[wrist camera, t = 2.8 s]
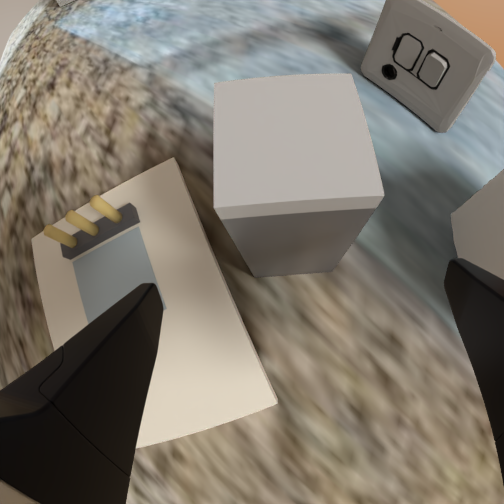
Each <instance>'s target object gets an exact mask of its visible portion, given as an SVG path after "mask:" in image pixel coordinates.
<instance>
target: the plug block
mask: <svg viewBox="0 0 504 504" xmlns="http://www.w3.org/2000/svg"><path fill="white" fill-rule="evenodd" d="M213 162H214V209H215V211H216V213H217V214H218V216H219V218H220V219H221V221H222V223H223V225H224V226H225V228H226V230H227V231H228V233H229V235H230V237H231V238H232V240H233V242H234V243H235V245H236V247H237V248H238V250H239V252H240V254H241V255H242V257H243V259H244V260H245V262H246V264H247V265H248V267H249V269H250V270H251V272H252V274H253V276H254V277H269V276H283V275H296V274H308V273H321V272H332V271H333V270H334V268H335V267H336V266H337V264H338V263H339V261H340V260H341V259H342V257H343V256H344V254H345V253H346V252H347V250H348V249H349V247H350V246H351V244H352V243H353V242H354V240H355V239H356V237H357V236H358V234H359V233H360V232H361V230H362V229H363V227H364V226H365V224H366V223H367V221H368V220H369V218H370V217H371V215H372V214H373V212H374V211H375V209H376V208H377V206H378V205H379V203H380V202H381V200H382V199H383V197H384V196H385V195H384V190H383V186H382V181H381V177H380V172H379V168H378V164H377V160H376V156H375V152H374V148H373V144H372V140H371V137H370V133H369V129H368V126H367V122H366V119H365V115H364V112H363V109H362V105H361V102H360V99H359V96H358V93H357V90H356V87H355V84H354V81H353V78H352V75H351V74H303V75H285V76H271V77H260V78H250V79H241V80H233V81H225V82H218V83H214V160H213Z"/></svg>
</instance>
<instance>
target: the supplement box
mask: <svg viewBox="0 0 504 504" xmlns="http://www.w3.org/2000/svg"><path fill="white" fill-rule="evenodd" d="M56 1H57V3H58V4H59V6H60V7H62V6H64V5H66V4H68V3H71V2H73V1H75V0H56Z"/></svg>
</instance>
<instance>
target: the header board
mask: <svg viewBox="0 0 504 504" xmlns="http://www.w3.org/2000/svg"><path fill="white" fill-rule="evenodd" d="M31 241H32V248H33V255H34V262H35V268H36V274H37V279H38V285H39V290H40V295H41V299H42V304H43V308H44V313H45V317H46V321H47V325H48V329H49V333H50V337H51V340H52V344H53V347H54V351H55V350H56V349H58V348H59V347H60V346H61V345H63V344H64V343H65V342H67V341H68V340H69V339H70V338H72V337H73V336H74V335H75V334H77V333H78V332H79V331H80V330H82V329H83V328H84V327H85V326H87V325H88V324H89V323H91V322H92V321H93V320H94V319H96V318H97V317H98V316H100V315H101V314H102V313H103V312H105V311H106V310H107V309H109V308H110V307H111V306H113V305H114V304H115V303H116V302H118V301H119V300H120V299H122V298H123V297H124V296H126V295H127V294H128V293H130V292H131V291H132V290H134V289H135V288H136V287H138V286H139V285H140V284H142V283H155V284H156V286H157V288H158V291H159V294H160V297H161V300H162V303H163V308H164V310H163V318H162V324H161V332H160V339H159V346H158V352H157V357H156V361H155V365H154V369H153V373H152V377H151V382H150V386H149V390H148V394H147V399H146V403H145V407H144V412H143V416H142V421H141V425H140V430H139V435H138V440H137V444H136V448H140V447H144V446H149V445H153V444H157V443H161V442H164V441H168V440H172V439H175V438H179V437H182V436H186V435H189V434H193V433H196V432H199V431H202V430H206V429H209V428H212V427H215V426H218V425H221V424H224V423H227V422H230V421H233V420H236V419H238V418H241V417H244V416H247V415H249V414H252V413H255V412H257V411H260V410H263V409H265V408H268V407H270V406H273V405H275V404H277V402H278V399H277V396H276V394H275V392H274V390H273V388H272V386H271V383H270V381H269V379H268V377H267V375H266V372H265V370H264V368H263V366H262V364H261V361H260V359H259V357H258V355H257V353H256V350H255V348H254V346H253V344H252V341H251V339H250V337H249V334H248V332H247V330H246V328H245V325H244V323H243V321H242V319H241V316H240V314H239V312H238V309H237V307H236V305H235V302H234V300H233V298H232V295H231V293H230V291H229V288H228V286H227V284H226V281H225V279H224V276H223V274H222V272H221V269H220V267H219V265H218V262H217V260H216V257H215V255H214V253H213V250H212V248H211V245H210V243H209V240H208V238H207V236H206V233H205V231H204V228H203V226H202V223H201V221H200V218H199V216H198V213H197V211H196V208H195V206H194V203H193V201H192V198H191V196H190V193H189V191H188V188H187V186H186V183H185V180H184V178H183V175H182V173H181V170H180V168H179V165H178V163H177V162H176V160H175V159H174V157H173V158H171V159H169V160H167V161H165V162H162V163H160V164H158V165H157V166H155V167H153V168H151V169H149V170H147V171H145V172H143V173H141V174H139V175H137V176H135V177H133V178H131V179H130V180H128V181H126V182H124V183H122V184H120V185H119V186H117V187H115V188H113V189H111V190H110V191H108V192H106V193H104V194H102V195H101V196H98V195H95V196H93V197H92V198H91V200H90V202H89V203H87V204H85V205H84V206H82V207H80V208H79V209H77V210H75V211H73V210H70V211H68V212H67V214H66V216H65V217H64V218H62V219H61V220H59V221H58V222H56V223H55V224H53V225H50V224H48V225H46V226H45V228H44V231H42V232H41V233H39V234H38V235H36V236H35V237H33V238H32V239H31Z"/></svg>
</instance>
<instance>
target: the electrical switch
mask: <svg viewBox="0 0 504 504" xmlns="http://www.w3.org/2000/svg"><path fill="white" fill-rule="evenodd" d="M495 60H496V53H495V51H494V50H493V49H492V48H491V47H490V46H489V45H488V44H487V43H485V42H484V41H483V40H481V39H480V38H479V37H477V36H476V35H475V34H473V33H472V32H471V31H469V30H468V29H466V28H465V27H463V26H462V25H461V24H459V23H458V22H456V21H455V20H453V19H452V18H450V17H449V16H447V15H446V14H444V13H442V12H441V11H439V10H438V9H436V8H434V7H433V6H431V5H429V4H428V3H426V2H424V1H422V0H386V2H385V5H384V7H383V10H382V13H381V15H380V18H379V21H378V23H377V26H376V28H375V31H374V34H373V36H372V39H371V41H370V44H369V47H368V49H367V52H366V54H365V57H364V59H363V62H362V64H361V71H362V73H363V74H364V76H365V77H367V78H368V79H370V80H371V81H373V82H374V83H376V84H377V85H378V86H380V87H381V88H383V89H384V90H385V91H387V92H388V93H390V94H391V95H392V96H394V97H395V98H396V99H398V100H399V101H400V102H401V103H403V104H404V105H405V106H407V107H408V108H409V109H410V110H412V111H413V112H414V113H415V114H417V115H418V116H419V117H420V118H422V119H423V120H424V121H425V122H426V123H427V124H429V125H430V126H431V127H432V128H433V129H434V130H436V131H437V132H439V133H445V132H447V131H448V130H449V129H450V128H451V127H452V126H453V124H454V123H455V121H456V119H457V118H458V116H459V115H460V113H461V112H462V110H463V109H464V107H465V106H466V104H467V103H468V101H469V100H470V98H471V97H472V95H473V93H474V92H475V90H476V89H477V87H478V86H479V84H480V82H481V81H482V79H483V78H484V76H485V74H486V73H487V71H489V70H490V69H491V67H492V66H493V64H494V62H495Z"/></svg>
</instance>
